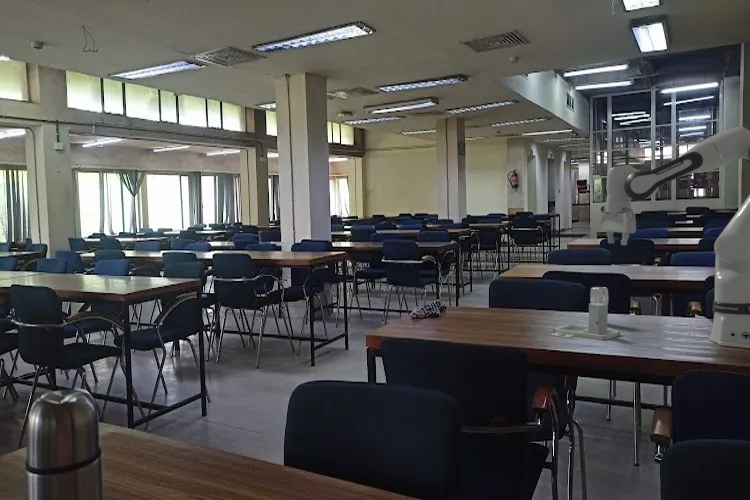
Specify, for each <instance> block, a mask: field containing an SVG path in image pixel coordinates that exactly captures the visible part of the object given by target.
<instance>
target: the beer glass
mask: <svg viewBox="0 0 750 500" xmlns="http://www.w3.org/2000/svg"><path fill="white" fill-rule="evenodd" d="M589 295H590V303H601V304H605V305H609V289H608V287H604V286H593V287H590V294H589Z"/></svg>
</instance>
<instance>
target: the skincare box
mask: <svg viewBox="0 0 750 500" xmlns="http://www.w3.org/2000/svg"><path fill="white" fill-rule="evenodd" d="M608 305H609V304H608ZM608 305H605V304H601V303H591V302H590V303H588V327H589V328H588V333H589V334H596V335H605V334H607V329H608V313H609V312H608V309H609V307H608Z"/></svg>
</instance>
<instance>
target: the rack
mask: <svg viewBox="0 0 750 500" xmlns="http://www.w3.org/2000/svg"><path fill="white" fill-rule="evenodd" d="M588 328H589V326H586V325H580V324H572V323H570V324H566V325H561V326H558V327H554V328H552V333H550V334H549V336H553V337H559V338H567V339H570V338H573V337H578V338H585V339H591V340H592V339H593V340H599V341H606V340H609V339H612V338H615V337H618V336H621V330H617V329H616V330H614V329H608V328H607V334H605V335H596V334H589V333H588Z"/></svg>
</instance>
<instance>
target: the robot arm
mask: <svg viewBox="0 0 750 500" xmlns="http://www.w3.org/2000/svg"><path fill="white" fill-rule="evenodd" d="M741 159H744V160H746V161H747V162H749V164H750V130H749V129H748V128H746V127H743V126H736V127H732V128H729V129H726V130H724V131H720V132H718V133H716V134H713V135H712V136H710V137H707V138H704V139H703V140H702V141H700V142H698V143H697V144H695V145H694V146H692V147H691V148H690V149H688V150H687V151H685V152H684V153H683V154H681V155H680V156H678V157H677V158H675V159H673V160H671V161H668V162H667V163H663V164H662V165H660V166H658V167H656V168H652V169H650V170H639V169H636V168H635V167H634V166H631V165H630V164H628V163H626V164H618V165H615V166H612V167H610V168H609V169H608V172H607V176H606V189H605V190H606V193H607V195H606V199H605V203H603V205H601V206H600V207H599V212H600V230H601V231H602V232H606V237H607V238H608V239H607V242H608V244H615V238H614V233H619V234H620V233H621V236H622V239H621V240H620V245H621V246H627V245H628V240H629V238H630V234H636V231H637V225H636V224H637V223H636V221H637V220H636V215H635V213H634V211H633V209H632V199H633V200H636V201H637V200H638V201H642V200H647V199H650V198H652V197H654V196H655V195H656V194H657V193H658V192H659V190H660V187H661V186H663V185H665V184H667V183H669V182H672V181H674V180H677V179H678V178H681V177H683V176H686V175H690V174H698V173H699V174H700V173H707V172H711V171H713V170H717V169H719V168H722V167H724V166H726V165H728V164H730V163H732V162H735V161H737V160H741ZM713 248H714V253H715V261H714V263H715V265H714V299H713V302H712V316H713V322H712V329H711V332H710V335H709V338H708V340H709V341H711V342H714V343H717V345H720V346H725V347H734V348H744V349H750V194H749V195H748V197H746V199H745V200H744V202H743V203H742V205H741V206H740V207H739V209H738V210H737V211H736V213H735V214H734V215H733V217H732V218H731V219H730V221H729V222H728V223H727V224H726V226H725V227H724V229H723V231H722V232H720V234H719V236H718V237H717V238H716V240H715V242H714V246H713Z"/></svg>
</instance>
